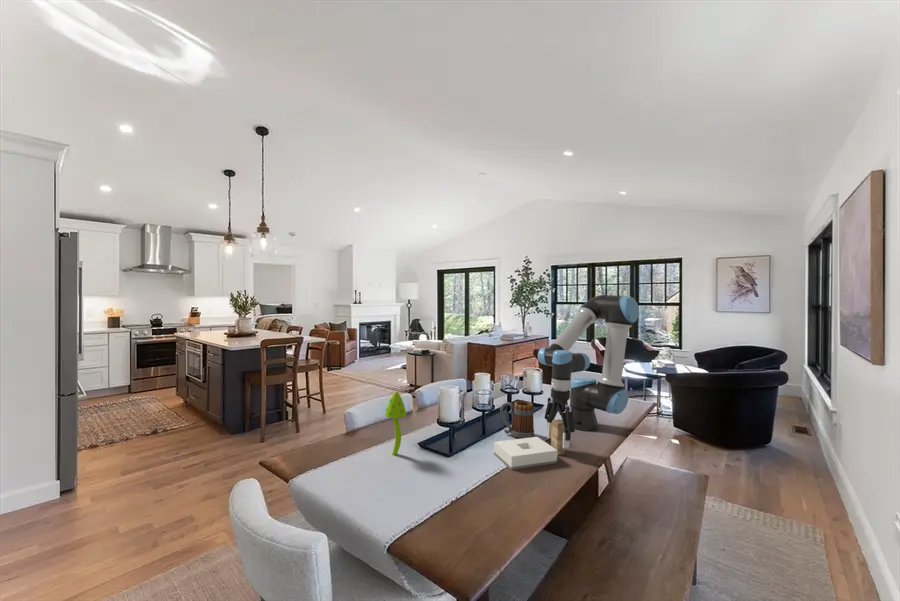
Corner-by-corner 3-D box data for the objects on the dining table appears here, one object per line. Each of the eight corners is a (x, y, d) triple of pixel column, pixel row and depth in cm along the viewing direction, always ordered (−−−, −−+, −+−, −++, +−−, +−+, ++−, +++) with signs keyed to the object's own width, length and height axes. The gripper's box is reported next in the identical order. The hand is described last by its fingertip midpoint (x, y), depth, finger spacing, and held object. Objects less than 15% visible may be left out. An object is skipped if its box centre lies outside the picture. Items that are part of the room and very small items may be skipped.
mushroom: (388, 448, 164) (389, 387, 163) (407, 451, 163) (409, 389, 162) (380, 457, 156) (382, 393, 155) (401, 460, 155) (403, 395, 153)
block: (536, 448, 170) (537, 436, 170) (556, 462, 157) (557, 450, 157) (493, 454, 163) (494, 441, 163) (511, 469, 150) (511, 456, 149)
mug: (532, 432, 188) (534, 400, 187) (535, 441, 177) (536, 407, 177) (498, 430, 190) (500, 398, 189) (499, 438, 179) (500, 405, 178)
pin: (558, 450, 169) (560, 419, 168) (564, 454, 165) (566, 422, 165) (550, 451, 168) (552, 420, 167) (556, 455, 164) (557, 423, 163)
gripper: (537, 382, 174) (535, 433, 175) (570, 397, 153) (567, 455, 154) (552, 381, 177) (549, 431, 178) (586, 395, 156) (583, 452, 157)
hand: (557, 442), depth 166 cm, fingers open, 10 cm apart
